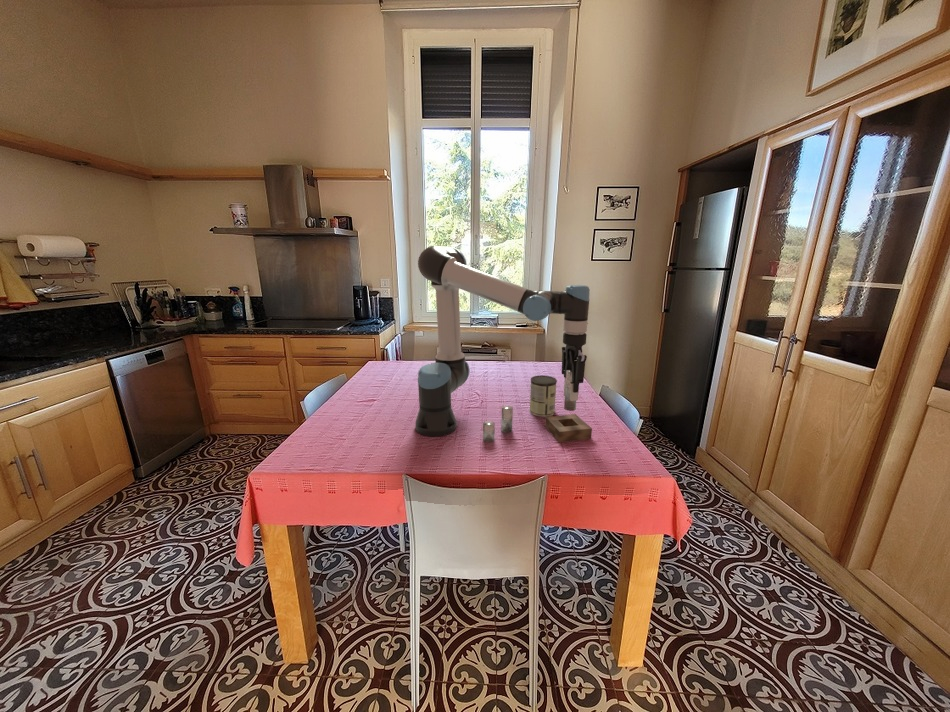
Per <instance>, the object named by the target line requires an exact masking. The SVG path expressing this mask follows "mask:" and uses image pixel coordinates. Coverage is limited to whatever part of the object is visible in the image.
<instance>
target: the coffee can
mask: <svg viewBox="0 0 950 712" xmlns="http://www.w3.org/2000/svg"><path fill="white" fill-rule="evenodd" d="M557 382H558V380H557V378H555V377H553V376H549V375H543V374H542V375H540V374H539V375H534V376H532V377H530V396H529V397H530V398H529V413H530V414H531V415H533V416H537V417H542V418H546V417H550V416H553V415H554V414H555V413H556V412H555V411H556V393H557ZM554 416H555V415H554Z"/></svg>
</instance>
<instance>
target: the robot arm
mask: <svg viewBox="0 0 950 712" xmlns="http://www.w3.org/2000/svg"><path fill="white" fill-rule="evenodd" d="M417 267H418V271H419V273H420V275H422V276H423V278H425V279H426V280H428V281H430V285H431V287H432V288H433V289H434V290H435V300H436V301H435V303H436V318H437V319H436V323H437V341H438V353H436V355H435V357H434V358H435V362H431V363H427V364H425V365H423V366H422V367H421V368H420V369H419V370H418V373H417V385H418V386H417V387H418V402H419V403H418V404H419V406H418V407H419V408H418V409H419V410H418V413H417V416H416V419H415V424H414V425H415V431H416V432H417V433H418V434H420V435H423V436H425V437H431V438H432V437H443V436H446V435H449V434H451V433H453V432H454V431H455V430H456V429H457V419H456V416H455V414H454V413H455V412H454V410H453V408H452V393H453V392H455V391H456V390H457V389H458V388H460V387H462V386H463V385H464V384H466V382H467V380H468V378H469V376H470V366H469V364H468V361H466V355H465V353H464V352H462V347H461V345H462V344H461V343H462V342H461V341H462V340H461V316H460V315H461V314H460V291H459V290H462V291H465V292H467V293H470V294H472V295H475V296H477V297H479V298H482V299H485V300H487V301H490V302H492V303H495V304H498V305H499V306H503V307H505V308H508V309H510V310H512V311H515V312H518V313H520V314H522V315H524V316H525V317H526V318H527V319H528V320H529V321H533V322H537V321H542V320H545V319H546V318H548V316H549V315H550V314H552V315H564V317H563V331H564V332H563V335H562V344H563V345H565V346H562V347H561V353H562V354H561V355H562V356H561V374H562V375H563V378H564V383H563V396H564V397H565V386H566V370H568V369H572V382H570V383H571V387H570V401H576V402H577V401H579V390H580V384H583V383H584V379H585V369H586V368H585V367H586V362H587V358H588V357H587V355H586V354H584V353H583V346H585V345H587V331H588V324H589V323H588V319H589V318H588V317H589V311H590V310H589V309H590V287H589V286H588V285H583V284H569V285H567V286H566V287H565V290H563V291H562V290H560V291H559V290H558V291H557V290H555V291H554V290H531V289H528V288H525V287H523V286H521V285H518V284H515V283H513V282H511V281H507V280H505V279H502V278H499V277H496V276H494V275H491V274H489V273H486V272H483V271H482V270H478V269H476V268H473V267H471V266H468V265H467V259H466V257H465V255H464V253H462V252H461V251H460V250H459V249H458V248H455V247H452V246H437V245H433V246H428V247H426V248H425V249H424V250H423V251H421V253H420V254H419V257H418V259H417Z"/></svg>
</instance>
